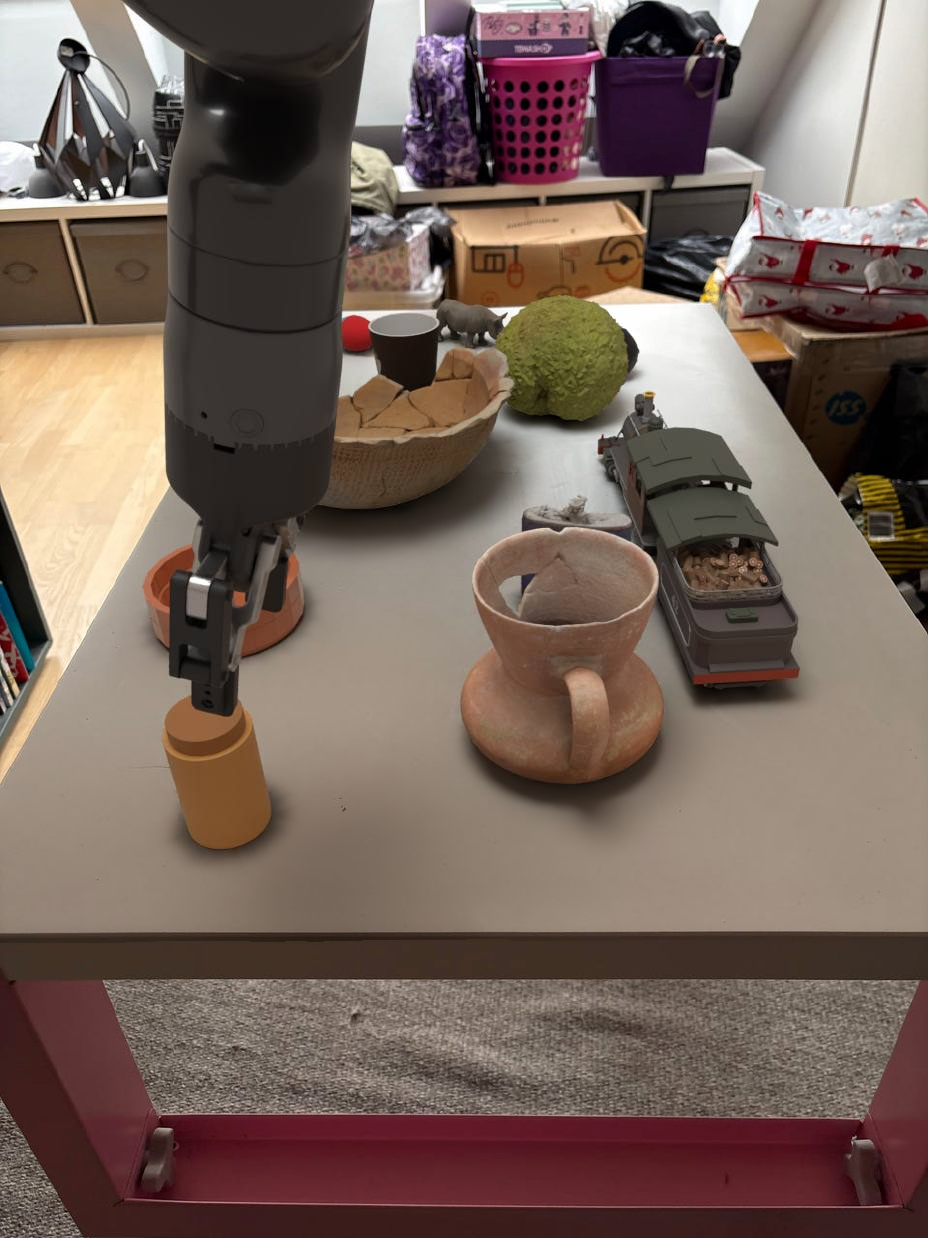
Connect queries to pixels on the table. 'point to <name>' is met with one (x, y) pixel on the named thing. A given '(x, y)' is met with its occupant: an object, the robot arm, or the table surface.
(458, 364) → the ceramic bowl
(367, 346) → the toy figure
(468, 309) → the rhino figurine
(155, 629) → the terracotta bowl
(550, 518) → the flask
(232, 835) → the orange lidded canister
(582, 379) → the fruit
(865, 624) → the table surface
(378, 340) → the coffee mug
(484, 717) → the ceramic jug
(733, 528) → the toy train
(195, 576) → the robot arm
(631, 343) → the figurine
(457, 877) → the table surface
